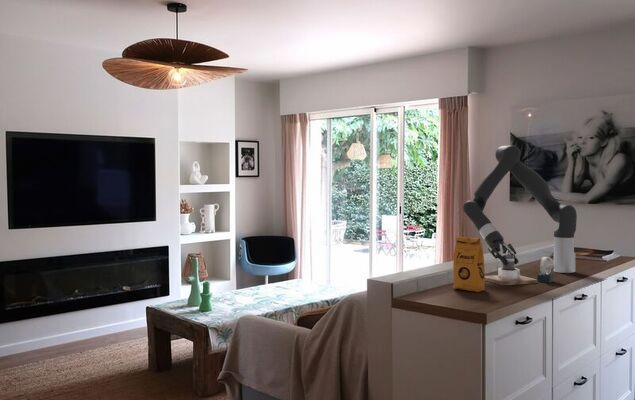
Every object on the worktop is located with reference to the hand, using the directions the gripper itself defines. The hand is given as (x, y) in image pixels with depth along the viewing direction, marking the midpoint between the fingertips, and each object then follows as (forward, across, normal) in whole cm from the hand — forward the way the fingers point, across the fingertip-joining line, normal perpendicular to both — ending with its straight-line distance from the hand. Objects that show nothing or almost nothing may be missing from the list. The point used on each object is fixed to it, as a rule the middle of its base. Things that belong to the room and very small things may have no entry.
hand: (511, 263), depth 257 cm
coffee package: (+8, -30, +4) cm, 31 cm away
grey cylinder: (+3, 0, +6) cm, 7 cm away
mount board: (+5, 0, +7) cm, 8 cm away
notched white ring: (+3, 0, +6) cm, 7 cm away
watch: (+11, +13, 0) cm, 17 cm away
